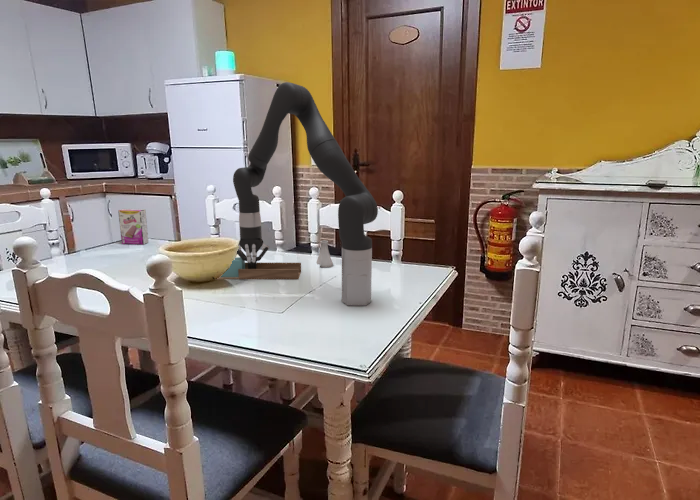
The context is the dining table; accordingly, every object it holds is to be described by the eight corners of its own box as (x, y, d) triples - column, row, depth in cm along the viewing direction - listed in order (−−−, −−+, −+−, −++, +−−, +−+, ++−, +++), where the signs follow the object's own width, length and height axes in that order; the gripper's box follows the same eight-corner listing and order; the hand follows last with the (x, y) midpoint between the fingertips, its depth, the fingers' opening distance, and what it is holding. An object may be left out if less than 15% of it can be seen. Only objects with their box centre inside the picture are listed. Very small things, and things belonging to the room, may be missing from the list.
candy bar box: (121, 244, 226) (117, 210, 222) (126, 242, 231) (123, 208, 227) (143, 245, 225) (140, 210, 221) (149, 242, 230) (145, 208, 226)
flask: (334, 263, 194) (334, 239, 192) (332, 268, 187) (332, 243, 184) (317, 263, 195) (316, 239, 192) (313, 267, 188) (313, 242, 185)
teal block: (242, 277, 170) (241, 260, 169) (219, 277, 170) (218, 260, 169) (245, 273, 175) (244, 257, 174) (223, 273, 175) (222, 257, 174)
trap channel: (298, 282, 168) (298, 269, 167) (210, 282, 168) (209, 269, 167) (301, 274, 178) (301, 262, 177) (217, 274, 178) (216, 262, 177)
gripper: (228, 226, 165) (231, 274, 169) (267, 226, 165) (269, 274, 169) (234, 222, 172) (236, 269, 176) (270, 222, 172) (272, 268, 176)
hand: (252, 271), depth 173 cm, fingers closed
